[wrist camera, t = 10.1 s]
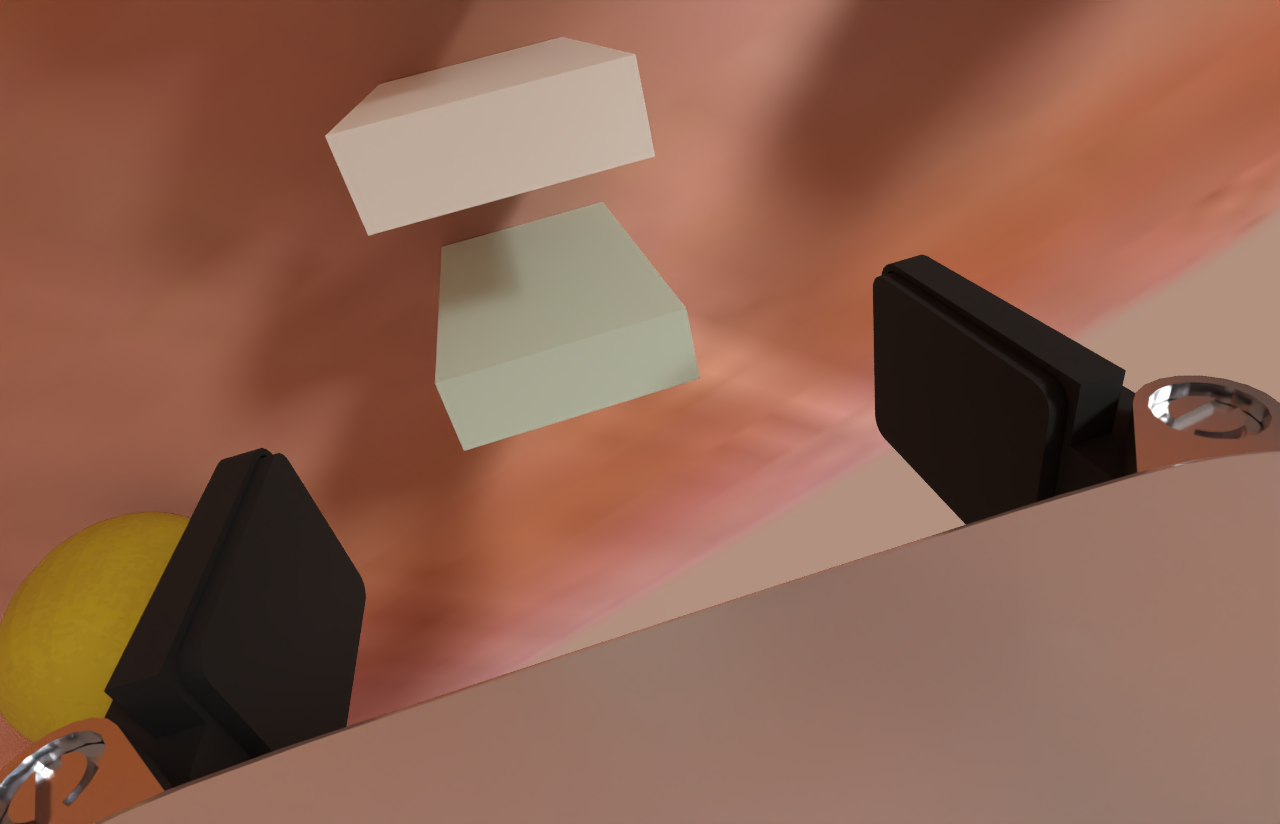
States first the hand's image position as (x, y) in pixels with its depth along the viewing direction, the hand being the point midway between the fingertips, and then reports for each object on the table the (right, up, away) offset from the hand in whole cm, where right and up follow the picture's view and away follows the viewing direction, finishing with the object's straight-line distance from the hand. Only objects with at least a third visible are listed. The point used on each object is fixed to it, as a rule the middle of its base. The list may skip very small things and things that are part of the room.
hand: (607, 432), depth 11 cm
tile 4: (-4, +9, +8) cm, 13 cm away
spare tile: (-3, +5, +10) cm, 12 cm away
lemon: (-15, -4, +12) cm, 20 cm away
